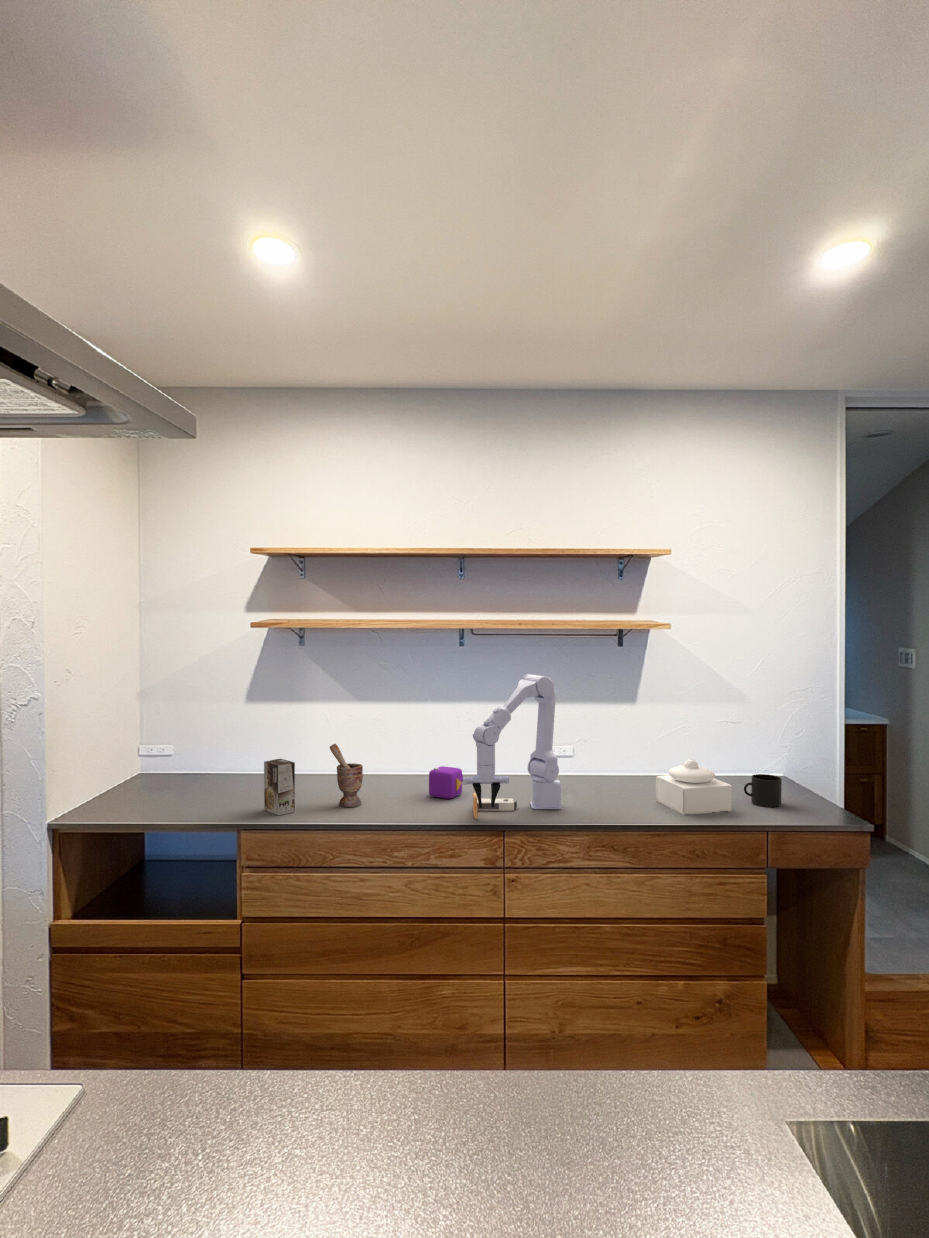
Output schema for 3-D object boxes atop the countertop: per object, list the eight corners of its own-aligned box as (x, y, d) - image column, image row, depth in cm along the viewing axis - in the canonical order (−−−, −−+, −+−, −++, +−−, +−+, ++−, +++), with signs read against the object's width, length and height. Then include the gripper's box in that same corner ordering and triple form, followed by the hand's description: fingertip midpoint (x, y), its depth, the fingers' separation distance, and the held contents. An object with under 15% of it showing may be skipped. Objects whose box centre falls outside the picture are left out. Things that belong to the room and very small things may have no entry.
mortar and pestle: (325, 807, 241) (325, 747, 240) (331, 800, 250) (331, 742, 249) (359, 808, 240) (360, 747, 240) (364, 801, 249) (364, 742, 249)
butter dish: (700, 797, 256) (701, 752, 256) (731, 812, 239) (732, 763, 238) (655, 801, 252) (655, 755, 251) (683, 815, 234) (684, 766, 234)
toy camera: (467, 791, 263) (467, 763, 263) (456, 800, 250) (456, 771, 250) (438, 788, 266) (438, 761, 266) (426, 798, 253) (426, 769, 253)
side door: (472, 810, 238) (473, 791, 238) (475, 810, 238) (475, 791, 238) (474, 819, 228) (474, 799, 228) (477, 818, 228) (477, 799, 228)
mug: (740, 799, 254) (741, 773, 254) (777, 800, 252) (777, 774, 252) (746, 806, 245) (746, 779, 245) (784, 808, 243) (784, 781, 243)
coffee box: (295, 812, 236) (295, 762, 235) (277, 816, 231) (277, 765, 231) (281, 806, 242) (281, 757, 242) (263, 810, 238) (263, 760, 237)
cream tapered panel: (515, 806, 244) (515, 797, 243) (517, 810, 238) (517, 801, 238) (473, 806, 243) (473, 797, 243) (474, 810, 238) (474, 801, 238)
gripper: (507, 760, 235) (507, 802, 235) (462, 761, 234) (462, 803, 234) (510, 765, 228) (510, 808, 228) (463, 766, 227) (463, 809, 227)
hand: (486, 806), depth 230 cm, fingers open, 3 cm apart
